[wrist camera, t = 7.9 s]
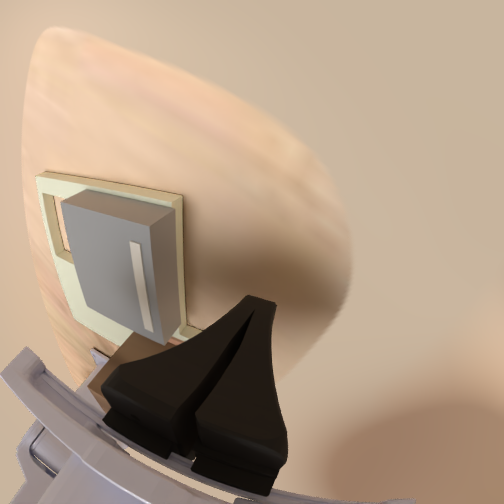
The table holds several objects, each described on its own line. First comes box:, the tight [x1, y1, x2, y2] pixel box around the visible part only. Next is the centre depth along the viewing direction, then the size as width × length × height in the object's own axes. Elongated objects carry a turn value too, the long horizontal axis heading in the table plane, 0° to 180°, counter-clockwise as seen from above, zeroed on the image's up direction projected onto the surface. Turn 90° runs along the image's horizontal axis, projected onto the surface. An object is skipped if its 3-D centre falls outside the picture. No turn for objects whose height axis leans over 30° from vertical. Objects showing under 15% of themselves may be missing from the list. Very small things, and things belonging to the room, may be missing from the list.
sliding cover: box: [61, 189, 181, 346], centre depth 14 cm, size 8×6×2 cm
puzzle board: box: [35, 172, 202, 346], centre depth 18 cm, size 14×14×1 cm
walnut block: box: [87, 331, 177, 414], centre depth 16 cm, size 4×4×6 cm
